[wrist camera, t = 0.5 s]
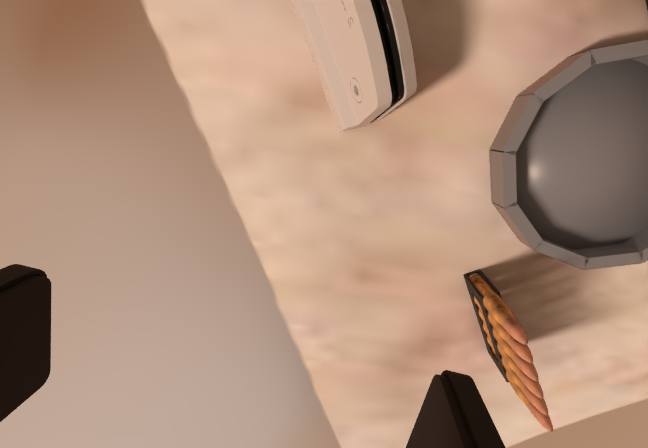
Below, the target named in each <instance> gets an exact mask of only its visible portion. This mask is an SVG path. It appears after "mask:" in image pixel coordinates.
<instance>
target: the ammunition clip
mask: <svg viewBox="0 0 648 448" xmlns="http://www.w3.org/2000/svg"><path fill="white" fill-rule="evenodd" d="M464 278H465V281H466V284H467V287H468V291H469V294H470V297H471V300H472V303H473V306H474V309H475V312H476V315H477V319H478V322H479V325H480V328H481V331H482V334H483V337H484V340H485V343H486V346H487V350H488V353H489V354H490V356H491V357H492V359H493V361H494V362H495V364H496V365H497V367H498V369H499V370H500V372H501V374H502V375H503V377H504V378H505V380H506V382H510V384H511V386H512V387H513V389H514V390H515V392H516V393H517V395H518V396H519V397H520V399H521V400H522V401H523V402H524V403H525V404H526V406H527V407H528V408H529V410H530V411H531V413H532V414H533V415H534V417H535V418H536V419H537V420H538V421H539V423H540V424H541V425H542V426H544V427H545V428H546V429H547V430H549V431H550V432H552V431H553V426H552V423H551V420H550V417H549V415H548V409H547V406H546V403H545V401H544V399H543V391H542V389H541V386H540V384H539V382H538V374H537V371H536V369H535V367H534V365H533V357H532V354H531V351H530V349H529V347H528V346H527V344H528V340H527V336H526V334H525V332H524V330H523V328H522V327H521V325H520V324H519V323H518V322H517V320H516V318H515V317H514V316H513V313H512V311H511V310H510V308H509V307H508V306H507V305H506V304H505V303H504V301H503V300H502V299H501V296H500V292H499V291H498V290H497V289H496V288H495V286H494V285H493V284H492V283H491V282H490V281H489V279H488V278H487V277H486V276H485V275H484V274H483V272H482V271H481V270H477V271H474V272H470V273H467V274H464Z"/></svg>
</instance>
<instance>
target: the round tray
mask: <svg viewBox="0 0 648 448" xmlns="http://www.w3.org/2000/svg"><path fill="white" fill-rule="evenodd" d="M517 96H518V97H516V98H515V100H514V102H513V104H512V106H511V108H510V110H509V112H508V114H507V116H506V118H505V120H504V122H503V124H502V126H501V128H500V130H499V132H498V134H497V136H496V138H495V140H494V142H493V144H492V146H491V148H490V149H491V150H489V151H490V175H491V199H492V203H493V205H494V206H495V207H496V209H497V210H498V211H499V213H500V214H501V216H502V217H503V218H504V220H505V221H506V223H507V224H508V225H509V227H510V228H511V230H512V231H513V232H514V234H515V235H516V236H517V238H518V239H519V240H520V241H521V242H522V243H524V244H525V245H527V246H528V247H530V248H531V249H533V250H534V251H536V252H539V253H542V254H544V255H547V256H549V257H552V258H554V259H557V260H560V261H562V262H565V263H567V264H570V265H572V266H575V267H578V268H580V269H584V270H588V269H597V268H605V267H614V266H623V265H631V264H640V263H642V262H646V261H648V40H642V41H637V42H631V43H626V44H620V45H614V46H609V47H603V48H598V49H592V50H589V51H585V52H582V53H579V54H576V55H573V56H570V57H568V58H566V59H565V60H564V61H562V62H561V63H560V64H558V65H557V66H556V67H554V68H553V69H552V70H550V71H549V72H548V73H546V74H545V75H544V76H542V77H541V78H540V79H538V80H537V81H536V82H534V83H533V84H532V85H531V86H529V87H528V88H527V89H525V90H524V91H523V92H521V93H520V94H519V95H517Z"/></svg>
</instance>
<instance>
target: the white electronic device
mask: <svg viewBox="0 0 648 448" xmlns="http://www.w3.org/2000/svg"><path fill="white" fill-rule="evenodd" d="M291 3H292V5H293V8H294V11H295V13H296V16H297V19H298V22H299V24H300V27H301V30H302V32H303V35H304V38H305V41H306V43H307V46H308V49H309V51H310V54H311V57H312V60H313V62H314V65H315V68H316V70H317V73H318V76H319V78H320V81H321V84H322V87H323V89H324V92H325V95H326V97H327V100H328V103H329V106H330V108H331V111H332V114H333V116H334V119H335V122H336V125H337V127H338V130H339V132H342V131H346V130H348V129H353V128H359V127H364V126H366V125H368V124H369V123H370V122H371V121H373V120H374V119H377V121H378V120H380V119H381V118H383V117H384V116H386V115H387V114H388V113H390V112H391V111H392V110H394V109H395V108H396V107H397V106H399V105H400V104H401V103H403V102H404V101H405V100H407V99H408V98H409V97H411V96H412V95H413V94H414V93H415V92H416V89H417V80H416V71H415V63H414V56H413V50H412V44H411V39H410V34H409V29H408V24H407V19H406V15H405V12H404V8H403V4H402V0H291Z"/></svg>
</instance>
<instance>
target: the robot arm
mask: <svg viewBox="0 0 648 448" xmlns="http://www.w3.org/2000/svg"><path fill="white" fill-rule="evenodd" d="M50 344H51V281H50V280H49V279H48V278H47V275H46V274H45V272H44V271H42V270H40V269H36V268H31V267H27V266H23V265H19V264H14V265H10V266H8V267H5V268H3V269H0V422H1V421H2V420H3V419H4V418H6V417H7V416H8V415H9V414H10V413H11V412H12V411H14V410H15V409H16V408H17V407H18V406H20V405H21V404H22V403H23V402H24V401H25V400H26V399H28V398H29V397H30V396H31V395H33V394H34V393H35V392H36V391H37V390H38V389H40V388H41V387H42V386H43V385H44V383H45V382H46V380H47V379H48V377H49V374H50V358H51V357H50V356H51V355H50V354H51V352H50V351H51V347H50V346H51V345H50ZM406 448H505V446H504V444H503V442H502V440H501V438H500V435H499V433H498V431H497V429H496V427H495V425H494V423H493V421H492V419H491V417H490V414H489V412H488V410H487V408H486V406H485V404H484V402H483V400H482V398H481V396H480V393H479V391H478V389H477V387H476V385H475V383H474V381H473V379H472V378H471V377H470V376H468V375H464V374H460V373H456V372H452V371H448V370H445V371H443V373H442V374H441V375H435V376H434V377H433V379H432V382H431V384H430V387H429V389H428V392H427V395H426V397H425V400H424V402H423V405H422V407H421V410H420V413H419V415H418V418H417V420H416V423H415V425H414V428H413V431H412V433H411V436H410V438H409V441H408V443H407V446H406Z"/></svg>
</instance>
